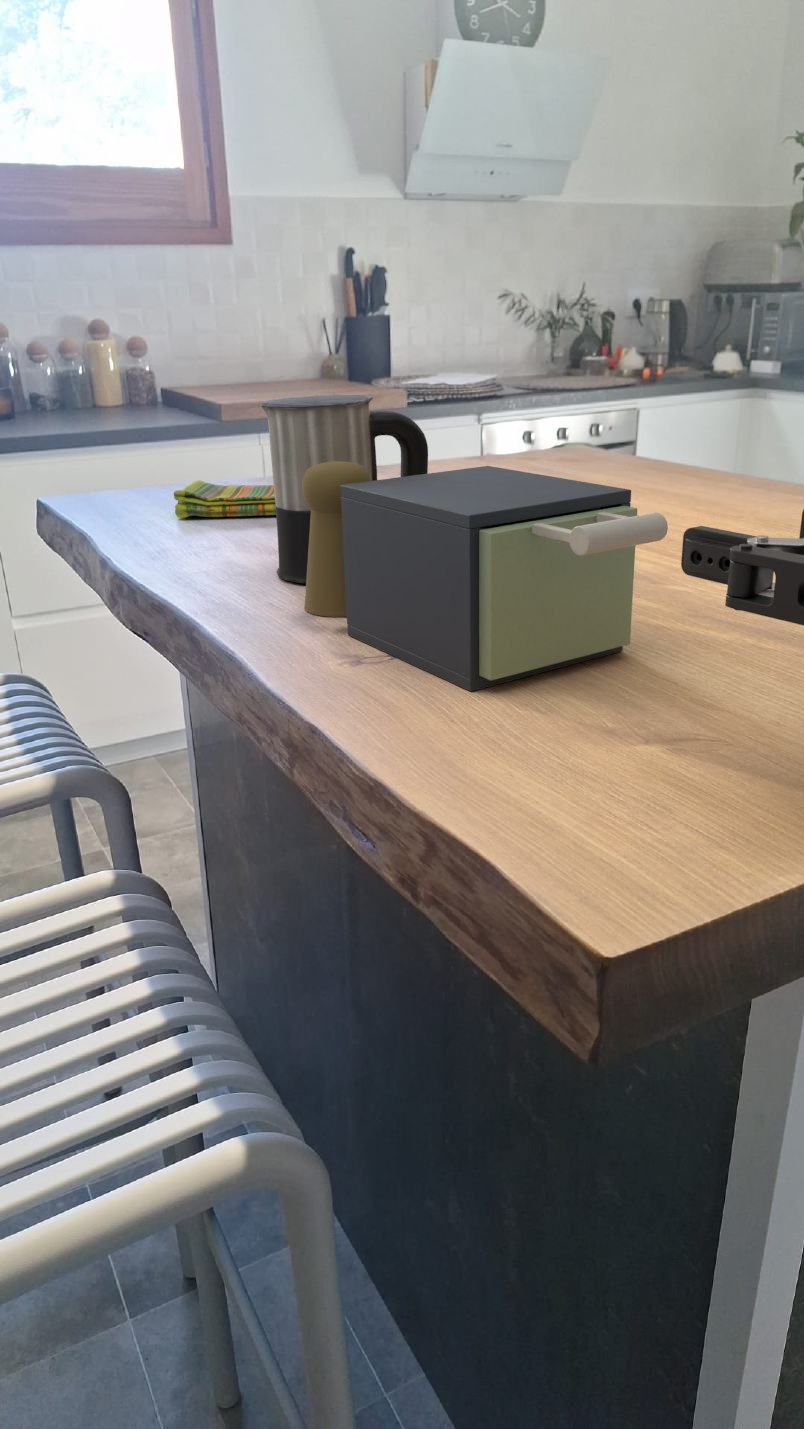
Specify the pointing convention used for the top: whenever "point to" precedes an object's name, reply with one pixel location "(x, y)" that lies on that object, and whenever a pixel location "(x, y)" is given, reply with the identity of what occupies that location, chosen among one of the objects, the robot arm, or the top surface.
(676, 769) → the top surface
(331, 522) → the olive pawn
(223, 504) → the dish towel
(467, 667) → the cabinet
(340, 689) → the top surface
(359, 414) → the milk frother
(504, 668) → the drawer
